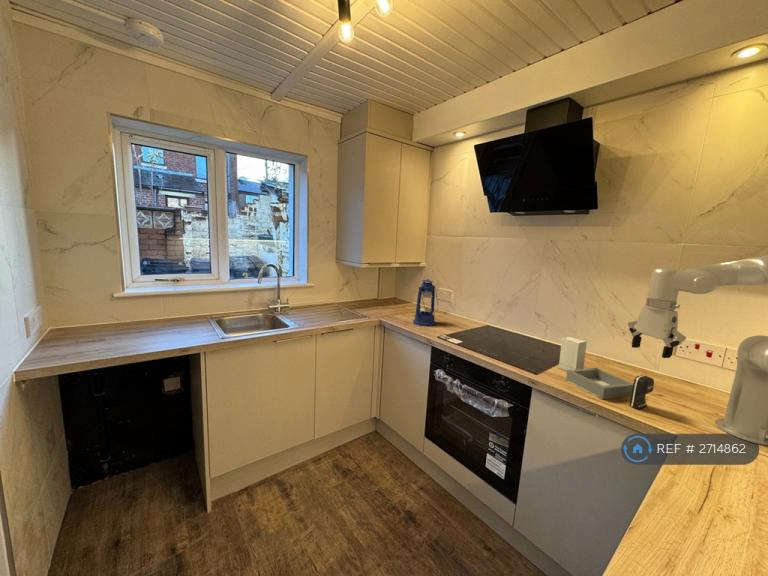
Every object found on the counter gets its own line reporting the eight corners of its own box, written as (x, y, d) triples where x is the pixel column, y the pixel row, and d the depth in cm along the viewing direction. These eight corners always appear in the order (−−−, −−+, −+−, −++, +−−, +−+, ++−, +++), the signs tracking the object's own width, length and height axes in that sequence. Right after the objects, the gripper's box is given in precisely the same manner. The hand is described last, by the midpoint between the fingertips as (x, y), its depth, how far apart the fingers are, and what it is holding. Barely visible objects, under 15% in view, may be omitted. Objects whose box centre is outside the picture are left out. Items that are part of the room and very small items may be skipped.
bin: (633, 395, 119) (635, 384, 118) (602, 399, 114) (604, 388, 113) (594, 377, 134) (596, 367, 133) (565, 380, 129) (567, 370, 128)
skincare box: (583, 373, 137) (588, 341, 135) (574, 375, 135) (580, 343, 133) (565, 366, 145) (570, 335, 143) (557, 367, 142) (561, 337, 140)
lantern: (424, 319, 218) (427, 277, 214) (441, 324, 207) (445, 280, 202) (407, 322, 207) (410, 278, 202) (423, 327, 196) (427, 281, 191)
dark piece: (641, 411, 107) (647, 381, 105) (628, 406, 110) (634, 376, 108) (650, 407, 110) (656, 377, 108) (638, 402, 113) (644, 373, 112)
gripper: (699, 310, 97) (687, 361, 100) (641, 299, 114) (632, 343, 116) (683, 310, 95) (671, 362, 98) (626, 299, 111) (617, 344, 114)
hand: (650, 352), depth 107 cm, fingers open, 9 cm apart
